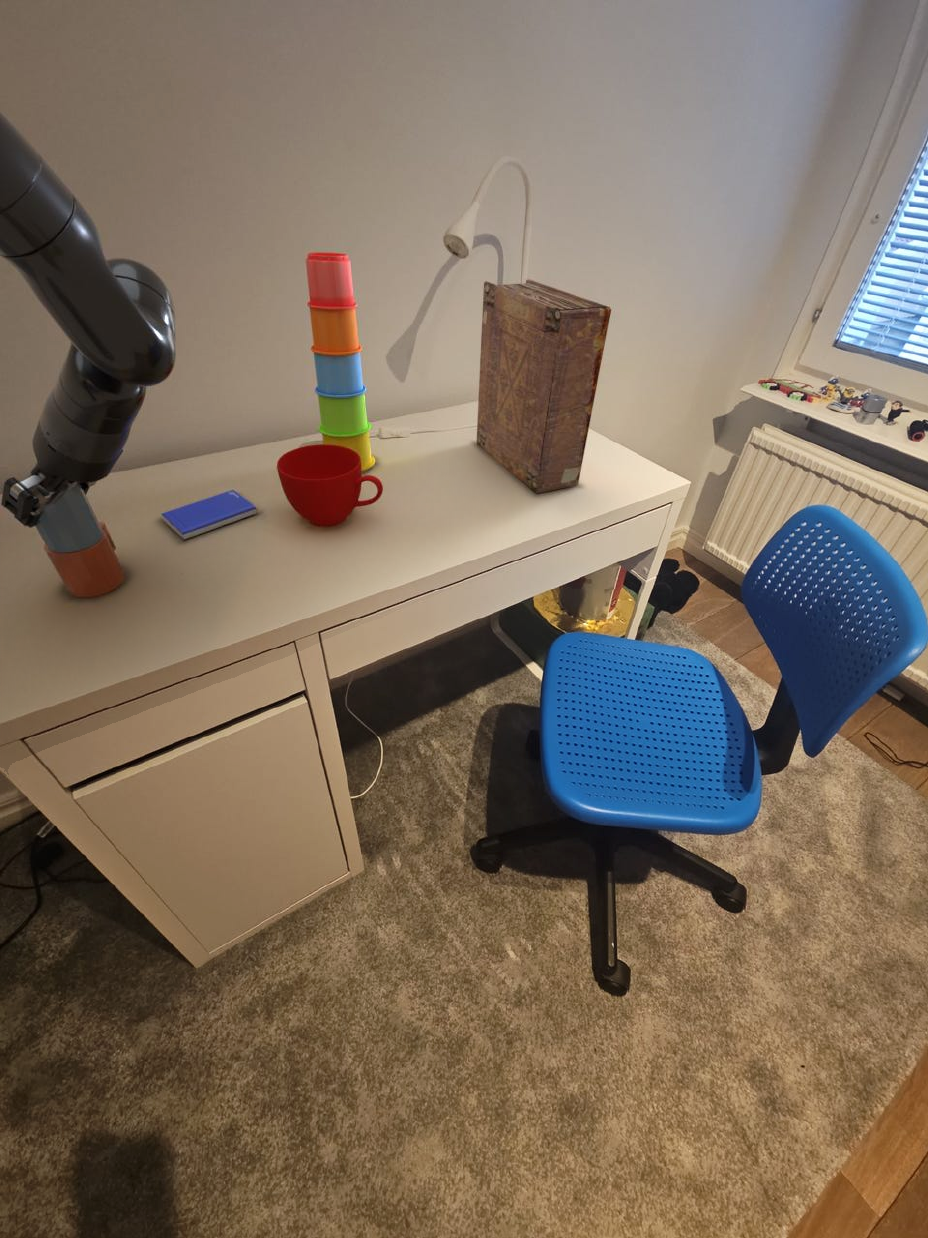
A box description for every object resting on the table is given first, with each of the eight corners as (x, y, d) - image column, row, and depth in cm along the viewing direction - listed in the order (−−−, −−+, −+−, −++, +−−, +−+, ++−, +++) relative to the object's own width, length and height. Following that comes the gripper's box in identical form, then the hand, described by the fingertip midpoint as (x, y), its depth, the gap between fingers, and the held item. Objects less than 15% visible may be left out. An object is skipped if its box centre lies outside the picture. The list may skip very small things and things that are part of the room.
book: (475, 442, 116) (483, 280, 97) (513, 436, 119) (527, 278, 100) (537, 494, 99) (561, 310, 79) (578, 486, 102) (611, 306, 83)
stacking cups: (311, 464, 106) (277, 252, 83) (351, 449, 112) (330, 247, 89) (345, 481, 101) (319, 261, 78) (386, 464, 107) (372, 255, 84)
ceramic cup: (368, 548, 84) (362, 490, 77) (272, 529, 87) (259, 471, 81) (399, 509, 93) (397, 454, 87) (312, 493, 97) (303, 439, 90)
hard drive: (232, 488, 94) (160, 512, 87) (255, 505, 90) (181, 532, 83) (234, 496, 95) (163, 520, 88) (257, 514, 91) (184, 540, 84)
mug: (110, 597, 73) (88, 554, 68) (57, 597, 73) (32, 554, 68) (142, 556, 81) (124, 514, 76) (94, 555, 80) (73, 514, 76)
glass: (88, 553, 69) (59, 496, 63) (36, 552, 68) (3, 495, 63) (111, 526, 74) (86, 472, 68) (63, 526, 73) (35, 471, 68)
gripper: (107, 382, 62) (72, 461, 73) (-12, 426, 52) (-33, 512, 62) (160, 434, 65) (119, 504, 75) (56, 486, 54) (25, 559, 64)
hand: (50, 507), depth 68 cm, fingers closed on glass, 6 cm apart
